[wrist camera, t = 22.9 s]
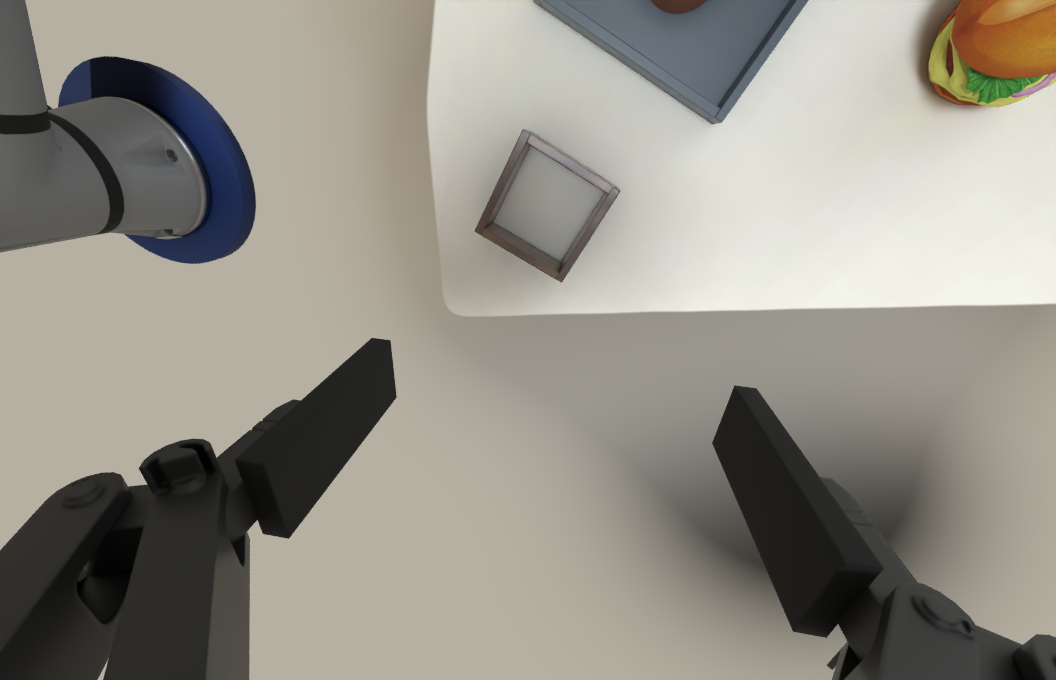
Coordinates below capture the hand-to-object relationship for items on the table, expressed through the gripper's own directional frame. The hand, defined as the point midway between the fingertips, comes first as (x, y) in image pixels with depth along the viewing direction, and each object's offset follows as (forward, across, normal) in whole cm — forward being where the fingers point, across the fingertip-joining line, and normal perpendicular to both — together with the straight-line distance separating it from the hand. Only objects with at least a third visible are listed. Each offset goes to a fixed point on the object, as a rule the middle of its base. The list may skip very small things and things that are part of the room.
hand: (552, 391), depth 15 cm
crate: (+31, -3, +3) cm, 31 cm away
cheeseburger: (+31, +31, +19) cm, 47 cm away
